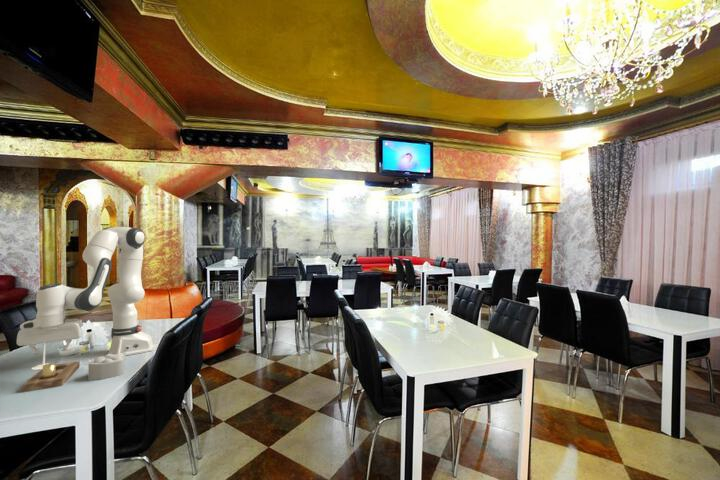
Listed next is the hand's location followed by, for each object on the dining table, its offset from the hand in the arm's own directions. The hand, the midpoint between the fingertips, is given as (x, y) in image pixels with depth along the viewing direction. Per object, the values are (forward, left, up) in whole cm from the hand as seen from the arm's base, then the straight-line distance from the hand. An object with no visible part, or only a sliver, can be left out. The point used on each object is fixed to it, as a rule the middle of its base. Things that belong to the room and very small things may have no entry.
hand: (51, 351), depth 131 cm
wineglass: (+10, -26, -14) cm, 31 cm away
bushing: (0, 0, -14) cm, 14 cm away
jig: (0, -5, -14) cm, 14 cm away
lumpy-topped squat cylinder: (-20, +1, -14) cm, 24 cm away
